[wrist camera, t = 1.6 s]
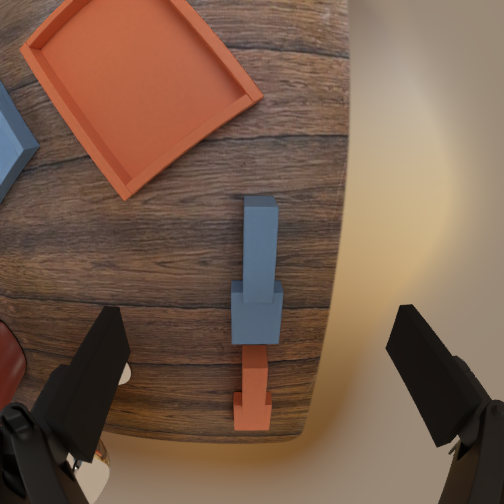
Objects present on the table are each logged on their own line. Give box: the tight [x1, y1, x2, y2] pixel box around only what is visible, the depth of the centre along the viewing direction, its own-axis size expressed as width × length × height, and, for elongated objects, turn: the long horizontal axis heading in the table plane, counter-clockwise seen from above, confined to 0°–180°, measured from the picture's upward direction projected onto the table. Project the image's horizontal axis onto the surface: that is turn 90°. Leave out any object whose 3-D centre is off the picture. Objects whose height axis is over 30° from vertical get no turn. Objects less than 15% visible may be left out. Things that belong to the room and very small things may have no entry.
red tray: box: [20, 0, 264, 201], centre depth 16 cm, size 12×17×2 cm
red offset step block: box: [234, 345, 272, 430], centre depth 29 cm, size 12×4×3 cm, turn 179°
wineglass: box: [66, 362, 131, 504], centre depth 20 cm, size 8×8×18 cm
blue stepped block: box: [231, 196, 283, 344], centre depth 23 cm, size 12×4×3 cm, turn 179°
